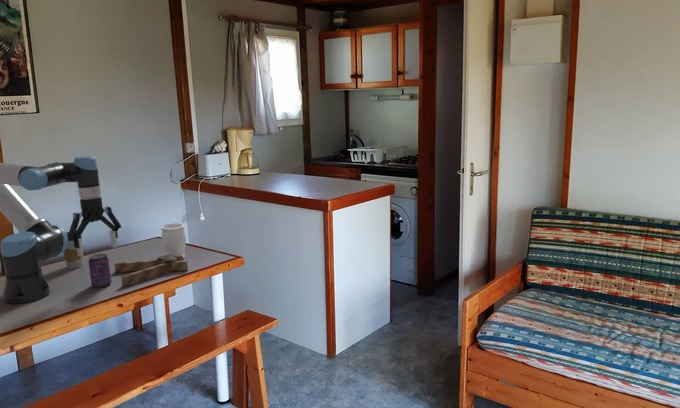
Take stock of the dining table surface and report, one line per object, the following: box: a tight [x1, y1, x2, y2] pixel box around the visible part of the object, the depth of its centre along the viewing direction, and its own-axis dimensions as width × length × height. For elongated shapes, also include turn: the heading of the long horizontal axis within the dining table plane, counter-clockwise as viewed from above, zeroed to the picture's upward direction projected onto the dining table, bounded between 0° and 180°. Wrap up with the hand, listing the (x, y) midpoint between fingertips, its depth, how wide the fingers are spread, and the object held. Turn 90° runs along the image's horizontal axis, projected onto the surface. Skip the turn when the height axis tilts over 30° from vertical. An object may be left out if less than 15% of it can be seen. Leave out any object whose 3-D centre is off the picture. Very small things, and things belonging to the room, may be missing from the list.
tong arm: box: [114, 254, 189, 273], centre depth 222 cm, size 30×6×5 cm, turn 98°
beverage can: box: [88, 253, 112, 288], centre depth 206 cm, size 7×7×12 cm
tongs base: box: [120, 255, 184, 288], centre depth 217 cm, size 30×6×4 cm, turn 143°
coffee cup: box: [62, 231, 84, 270], centre depth 230 cm, size 8×8×15 cm
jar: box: [160, 222, 187, 259], centre depth 238 cm, size 11×10×15 cm
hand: (98, 251), depth 204 cm, fingers open, 13 cm apart
